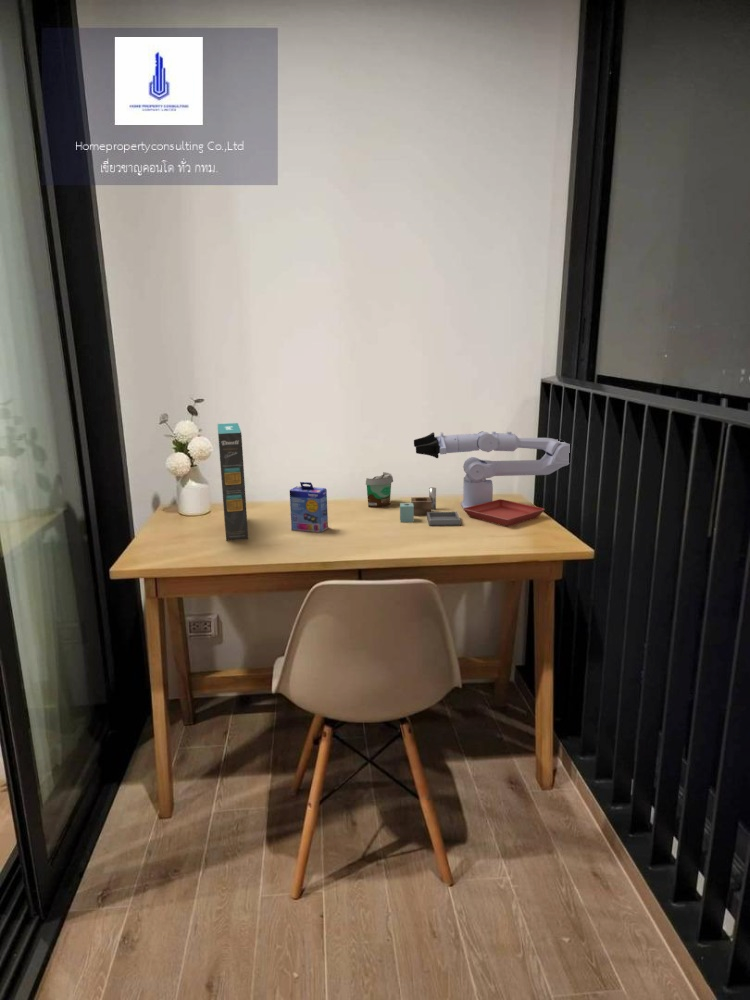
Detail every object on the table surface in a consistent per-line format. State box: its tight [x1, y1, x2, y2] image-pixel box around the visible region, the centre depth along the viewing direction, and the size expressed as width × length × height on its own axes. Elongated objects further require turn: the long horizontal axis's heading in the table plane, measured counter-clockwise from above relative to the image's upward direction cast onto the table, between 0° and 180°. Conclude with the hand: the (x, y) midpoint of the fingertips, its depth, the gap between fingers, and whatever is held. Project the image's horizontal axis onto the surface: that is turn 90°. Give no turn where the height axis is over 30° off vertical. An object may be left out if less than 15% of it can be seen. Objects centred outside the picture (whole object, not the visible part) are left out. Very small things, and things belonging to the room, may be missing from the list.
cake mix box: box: [216, 422, 249, 542], centre depth 185 cm, size 22×6×30 cm, turn 14°
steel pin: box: [428, 487, 437, 511], centre depth 207 cm, size 2×2×7 cm
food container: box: [365, 471, 394, 509], centre depth 213 cm, size 12×6×10 cm, turn 150°
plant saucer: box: [462, 498, 545, 527], centre depth 197 cm, size 18×18×3 cm
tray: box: [426, 511, 462, 527], centre depth 193 cm, size 9×9×2 cm
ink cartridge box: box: [289, 481, 329, 533], centre depth 186 cm, size 10×6×14 cm, turn 72°
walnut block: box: [410, 496, 433, 517], centre depth 203 cm, size 6×6×4 cm
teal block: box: [399, 502, 415, 523], centre depth 195 cm, size 4×4×5 cm
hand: (414, 446), depth 206 cm, fingers open, 7 cm apart
